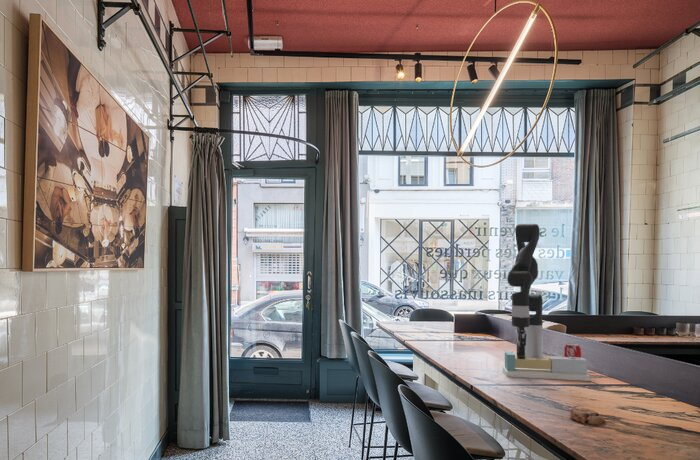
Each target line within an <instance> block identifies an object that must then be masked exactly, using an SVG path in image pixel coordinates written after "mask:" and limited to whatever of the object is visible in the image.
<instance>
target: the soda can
mask: <svg viewBox="0 0 700 460" xmlns="http://www.w3.org/2000/svg"><path fill="white" fill-rule="evenodd" d="M581 350H582V349H581V347H580V344H578V343H574V342H573V343H570V342H567V343H565V346H564V350H563V351H564V353H563V354H564V356H563V357H581V358H582V351H581Z"/></svg>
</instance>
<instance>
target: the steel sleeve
mask: <svg viewBox="0 0 700 460" xmlns="http://www.w3.org/2000/svg"><path fill="white" fill-rule="evenodd" d="M548 359H551V360H552V370H550V371H551V372H552V373H568V374H588V360H587V359H586V358H584V357H582V356H581V357H564V356H558V355H557V356H556V355H555V356H554V355H548Z"/></svg>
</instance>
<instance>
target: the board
mask: <svg viewBox="0 0 700 460" xmlns="http://www.w3.org/2000/svg"><path fill="white" fill-rule="evenodd" d="M502 372H503V373H504V375H505V377H511V378H526V379H527V378H532V379H547V380H549V379H550V380H564V381H565V380H566V381H567V380H568V381H584V382H585V381H586V382H590V381H591V375H589V374H588V373H587V374H568V373H552V372H551V371H550V370H546V369H526V368H515V371H507V369H506V368H505V365H502Z"/></svg>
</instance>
